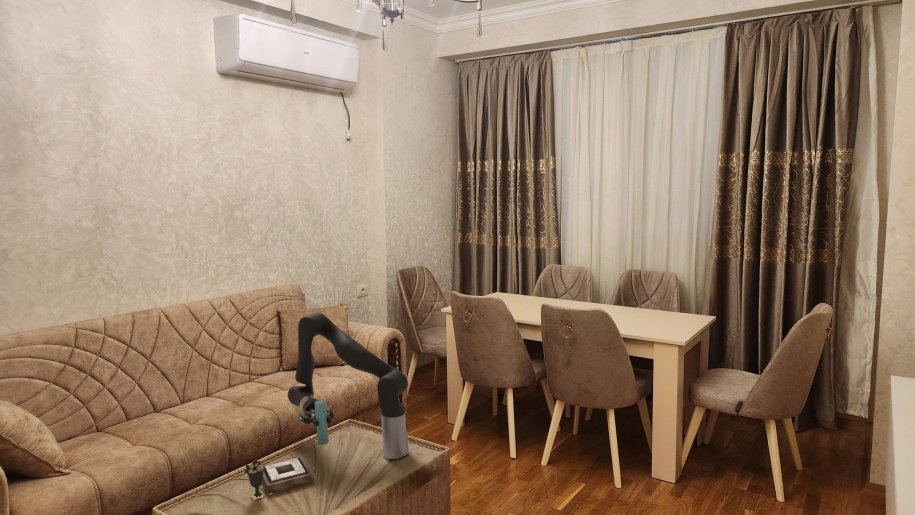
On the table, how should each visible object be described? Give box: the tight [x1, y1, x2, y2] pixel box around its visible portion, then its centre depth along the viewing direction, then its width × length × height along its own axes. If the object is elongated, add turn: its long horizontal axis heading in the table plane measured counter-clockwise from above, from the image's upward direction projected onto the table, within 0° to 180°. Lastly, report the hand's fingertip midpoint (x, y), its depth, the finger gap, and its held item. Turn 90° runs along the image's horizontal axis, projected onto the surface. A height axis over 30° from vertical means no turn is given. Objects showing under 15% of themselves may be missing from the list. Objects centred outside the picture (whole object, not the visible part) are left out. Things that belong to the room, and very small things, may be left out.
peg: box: [315, 399, 330, 446], centre depth 236 cm, size 4×4×16 cm
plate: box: [265, 457, 306, 484], centre depth 230 cm, size 12×12×3 cm
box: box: [262, 455, 314, 495], centre depth 230 cm, size 16×16×4 cm
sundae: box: [244, 454, 265, 497], centre depth 218 cm, size 7×7×15 cm
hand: (323, 422), depth 233 cm, fingers closed on peg, 4 cm apart
